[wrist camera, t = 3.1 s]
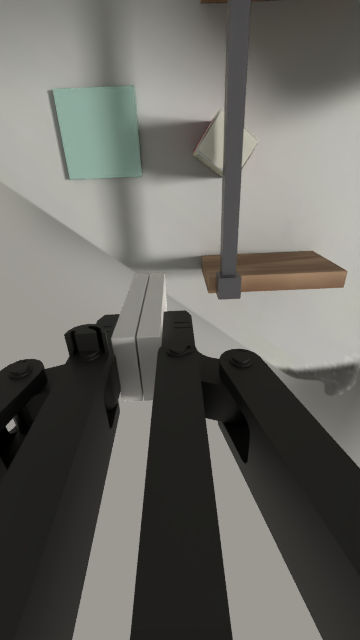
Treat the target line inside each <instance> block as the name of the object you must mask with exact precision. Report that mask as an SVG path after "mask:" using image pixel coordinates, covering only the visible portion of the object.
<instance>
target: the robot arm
mask: <svg viewBox="0 0 360 640" xmlns="http://www.w3.org/2000/svg"><path fill="white" fill-rule="evenodd" d="M166 302H167V301H166V285H165V273H150V277H149V273H144V274H135V275H134V278H133V280H132V283H131V286H130V288H129V291H128V294H127V297H126V299H125V302H124V305H123V307H122V310H121V313H120V314H115V315H104V316H103V317H102V318H100V319H99V320H98V321H97V323H96V324H87V325H80V326H77V327H74V328H72V329H71V330H69V331H68V332H66V333H65V335H64V336H65V340H66V343H67V348H68V351H69V355H70V356H69V358H68V360H67V362H66V364H64V365H60V366H56V367H52V368H48V369H44V365H43V363H42V362H41V361H40V360H36V359H25V360H20V361H17V362H15V363H13V364H10V365H8V366H7V367H5V368H4V369H2V370H1V371H0V640H72V637H73V632H74V627H75V623H76V618H77V613H78V608H79V604H80V599H81V594H82V590H83V585H84V580H85V575H86V570H87V566H88V561H89V556H90V551H91V546H92V542H93V537H94V532H95V527H96V523H97V518H98V513H99V508H100V504H101V499H102V494H103V490H104V485H105V480H106V475H107V470H108V465H109V461H110V456H111V452H112V447H113V442H114V437H115V433H116V428H117V423H118V418H119V413H120V408H119V402H118V399H119V394H120V392H121V398H122V401H142V400H143V394H144V400H153V406H152V417H151V427H150V438H149V448H148V460H147V470H146V479H145V490H144V500H143V511H142V521H141V532H140V543H139V553H138V563H137V574H136V584H135V595H134V605H133V615H132V625H131V635H130V640H233V639H232V631H231V624H230V615H229V607H228V599H227V591H226V582H225V574H224V566H223V558H222V550H221V541H220V533H219V525H218V517H217V509H216V501H215V492H214V485H213V476H212V468H211V460H210V451H209V443H208V435H207V428H206V420H205V418H208V419H213V420H217V421H218V425H219V427H220V429H221V431H222V433H223V435H224V438H225V440H226V442H227V444H228V446H229V448H230V450H231V452H232V454H233V456H234V458H235V460H236V462H237V464H238V466H239V468H240V470H241V472H242V474H243V476H244V478H245V481H246V483H247V485H248V487H249V489H250V491H251V493H252V495H253V497H254V499H255V501H256V503H257V505H258V507H259V509H260V511H261V513H262V516H263V517H264V520H265V522H266V524H267V526H268V528H269V530H270V532H271V534H272V536H273V538H274V540H275V542H276V544H277V546H278V548H279V550H280V552H281V554H282V557H283V558H284V561H285V563H286V565H287V567H288V569H289V571H290V573H291V575H292V577H293V579H294V581H295V583H296V585H297V587H298V589H299V592H300V594H301V596H302V598H303V600H304V602H305V604H306V606H307V608H308V610H309V612H310V614H311V616H312V618H313V620H314V622H315V624H316V626H317V628H318V630H319V633H320V635H321V637H322V639H323V640H360V468H359V467H358V466H357V465H356V464H355V463H354V461H353V460H352V459H351V458H350V457H349V456H348V455H347V454H346V452H344V450H343V449H342V448H341V447H340V446H339V445H338V444H337V443H336V441H335V440H334V439H333V438H332V437H331V436H330V435H329V434H328V433H327V431H326V430H325V429H324V428H323V427H322V426H321V425H320V423H319V422H318V421H317V420H316V419H315V418H314V417H313V416H312V414H310V412H309V411H308V410H307V409H306V408H305V407H304V406H303V404H302V403H301V402H300V401H299V400H298V399H297V398H296V397H295V396H294V394H293V393H292V392H291V391H290V390H289V389H288V388H287V387H286V385H285V384H284V383H283V382H282V381H281V380H280V379H279V378H278V376H277V375H276V374H275V373H274V372H273V371H272V370H271V369H270V368H269V367H268V365H267V364H266V363H265V362H264V361H263V360H262V359H261V357H260V356H258V355H257V354H256V353H254V352H252V351H249V350H245V349H231V350H228V351H225V352H224V353H223V354H222V355H221V356H220V359H216V358H211V357H207V356H205V355H202V354H201V353H199V352H198V351H197V349H196V347H195V342H194V334H193V326H192V318H191V315H190V314H189V313H188V312H187V311H167V303H166ZM12 419H14V422H15V424H16V426H15V427H14V428H13V429H12V430H11V431H9V432H8V431H7V428H6V425H7V424H8V423H9V422H10V421H11V420H12Z"/></svg>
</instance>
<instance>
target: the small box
mask: <svg viewBox="0 0 360 640" xmlns="http://www.w3.org/2000/svg"><path fill="white" fill-rule="evenodd" d="M258 143H259V140H258V139H257V138H256V137H255V136H254V135H253V134H252V133H251V132H250V131H248V130H247V129H246V128H245V127H244V133H243V152H242V168H243V167H244V165H245V164H246V162H247V161H248V159H249V158H250V156H251V154H252V153H253V151H254V150H255V148H256V146H257V145H258ZM223 146H224V110H223V109H220V110H219V111H218V113H217V114H216V116H215V117H214V118H213V120H212V121H211V122H210V124H209V126H208V127H207V129H206V131H205V132H204V134H203V135H202V137H201V139H200V141H199V142H198V144H197V146H196V148H195V149H194V151H193V155H194V156H195V157H196V158H197V159H199V160H200V161H201V162H202V163H204V164H205V165H206V166H208V167H209V168H210V169H212V170H213V171H214V172H216V173H217V174H218V175H220V176H221V177H222V178H223Z"/></svg>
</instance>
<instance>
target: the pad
mask: <svg viewBox="0 0 360 640" xmlns="http://www.w3.org/2000/svg"><path fill="white" fill-rule="evenodd" d="M52 90H53V95H54V100H55V105H56V111H57V116H58V121H59V126H60V131H61V136H62V142H63V147H64V152H65V157H66V162H67V167H68V173H69V178H70V180H72V179H96V178H119V177H142V167H141V156H140V145H139V133H138V122H137V110H136V99H135V88H134V86H111V87H87V88H64V89H52Z"/></svg>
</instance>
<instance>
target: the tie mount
mask: <svg viewBox="0 0 360 640" xmlns="http://www.w3.org/2000/svg"><path fill="white" fill-rule="evenodd" d="M251 1H271V0H251ZM223 2H228V0H201V3H223ZM217 271H220V255H208V256H202V272H203V276H204V279H205V283H206V286H207V290H208V293H216V272H217ZM236 271H238V273H239V274H240V276H241V277H242V280H241V292H250V291H273V290H297V289H320V288H343V287H344V284H345V279H346V275H347V271H346V270H345V269H343V268H341V267H339V266H338V265H336V264H334V263H333V262H331V261H329V260H327V259H326V258H324V257H322V256H320V255H319V254H317V253H315V252H314V251H301V252H278V253H255V254H237V262H236Z"/></svg>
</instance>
